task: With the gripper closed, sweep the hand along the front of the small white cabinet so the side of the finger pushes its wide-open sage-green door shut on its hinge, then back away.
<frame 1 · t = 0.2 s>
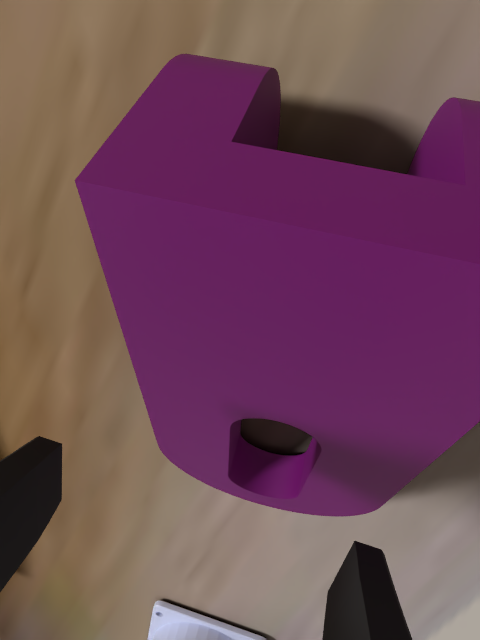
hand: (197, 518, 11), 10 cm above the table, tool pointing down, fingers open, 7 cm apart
mounting bracket: (301, 322, 20), on the table
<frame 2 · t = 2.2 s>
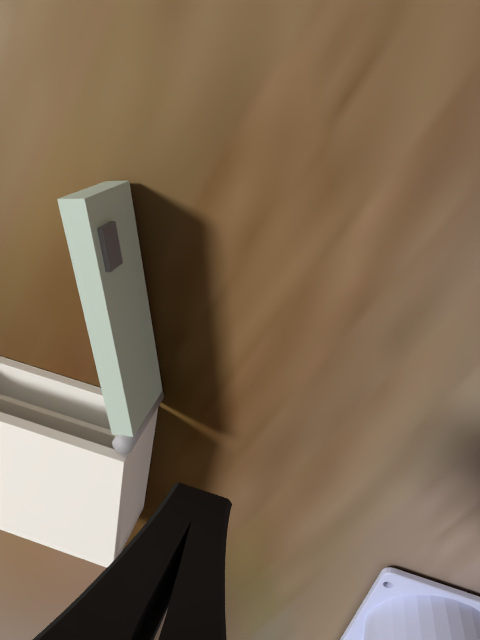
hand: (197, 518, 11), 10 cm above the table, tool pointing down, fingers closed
cabinet: (59, 430, 25), on the table
door: (124, 322, 19), point 2 cm above the table, hinge at 75.0°
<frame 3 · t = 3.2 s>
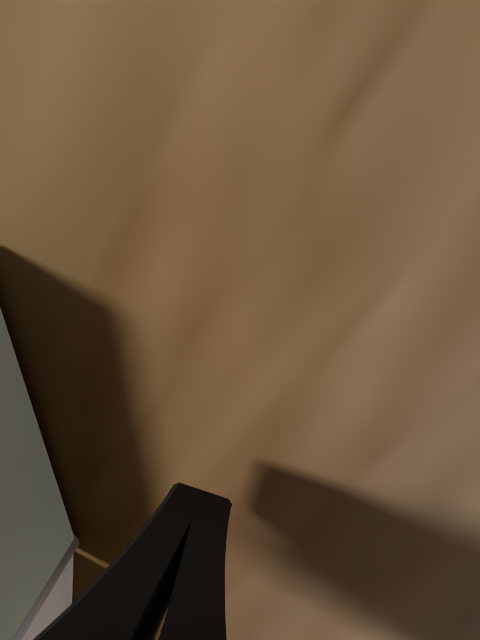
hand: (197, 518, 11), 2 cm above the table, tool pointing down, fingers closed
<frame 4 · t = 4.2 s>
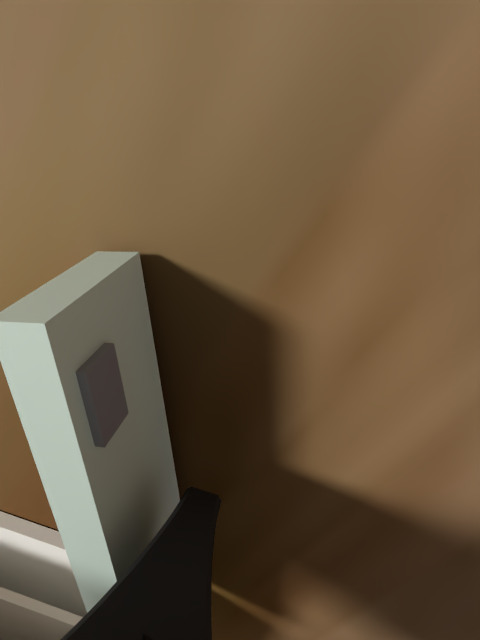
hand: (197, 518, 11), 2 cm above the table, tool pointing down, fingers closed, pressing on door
cabinet: (34, 587, 17), on the table
door: (130, 495, 11), point 2 cm above the table, hinge at 75.0°, touching gripper
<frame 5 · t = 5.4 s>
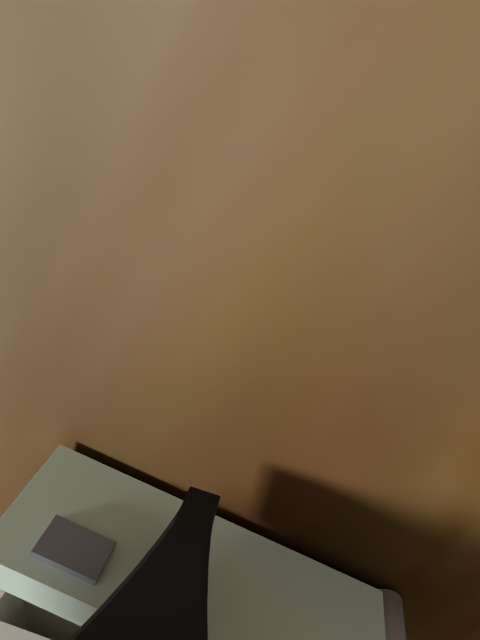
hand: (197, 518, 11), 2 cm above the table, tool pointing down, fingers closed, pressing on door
cabinet: (190, 621, 16), on the table
door: (214, 589, 11), point 2 cm above the table, hinge at 9.7°, touching gripper
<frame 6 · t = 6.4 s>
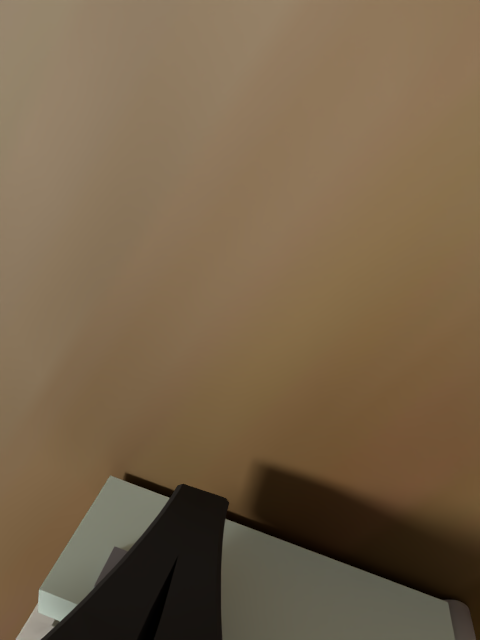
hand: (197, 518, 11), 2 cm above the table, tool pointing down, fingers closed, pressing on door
cabinet: (239, 629, 16), on the table
door: (275, 611, 11), point 2 cm above the table, hinge at 3.1°, touching gripper
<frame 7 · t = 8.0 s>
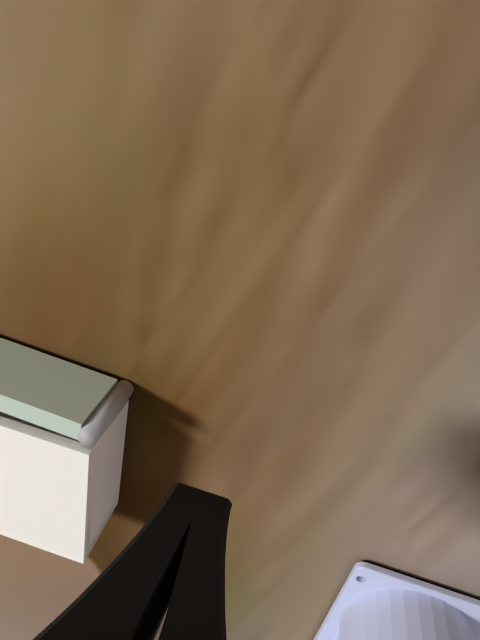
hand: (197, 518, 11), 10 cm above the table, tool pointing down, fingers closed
cabinet: (32, 425, 25), on the table
door: (10, 374, 21), point 2 cm above the table, hinge at 2.9°
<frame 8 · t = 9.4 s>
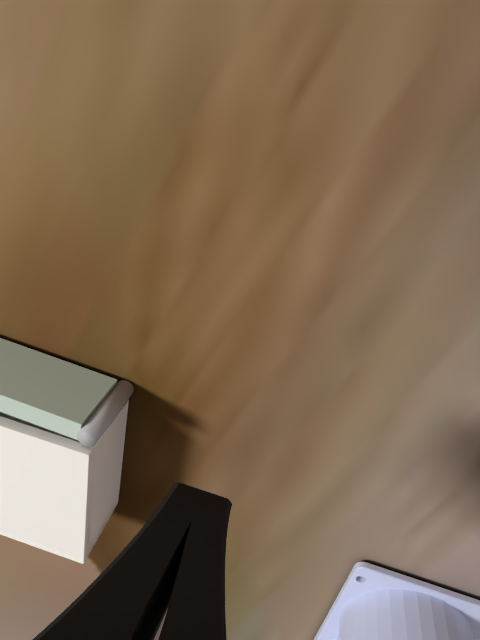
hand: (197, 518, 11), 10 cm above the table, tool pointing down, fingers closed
cabinet: (32, 425, 25), on the table
door: (10, 374, 21), point 2 cm above the table, hinge at 2.9°
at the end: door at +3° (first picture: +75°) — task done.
